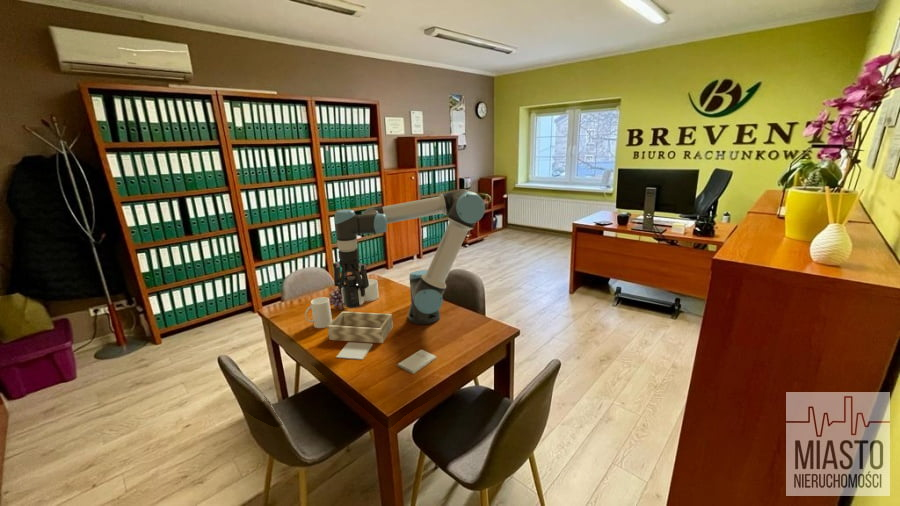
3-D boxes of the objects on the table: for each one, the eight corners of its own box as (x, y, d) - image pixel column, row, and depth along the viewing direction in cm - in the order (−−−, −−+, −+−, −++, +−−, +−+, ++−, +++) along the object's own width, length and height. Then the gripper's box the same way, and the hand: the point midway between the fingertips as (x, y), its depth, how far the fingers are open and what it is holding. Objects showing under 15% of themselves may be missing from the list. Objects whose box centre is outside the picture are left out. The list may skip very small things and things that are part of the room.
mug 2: (382, 298, 195) (380, 282, 192) (367, 302, 189) (365, 286, 187) (371, 291, 204) (369, 276, 201) (356, 296, 198) (354, 280, 196)
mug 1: (309, 332, 161) (305, 308, 157) (304, 325, 167) (300, 302, 164) (335, 324, 168) (332, 300, 164) (329, 317, 174) (325, 295, 171)
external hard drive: (397, 367, 135) (421, 352, 144) (413, 375, 129) (436, 359, 139) (397, 363, 134) (420, 348, 143) (413, 371, 129) (436, 355, 138)
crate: (393, 326, 163) (391, 314, 161) (382, 343, 150) (381, 329, 148) (343, 324, 167) (342, 311, 166) (329, 339, 154) (327, 326, 152)
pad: (373, 344, 149) (373, 343, 149) (362, 359, 139) (362, 358, 139) (348, 342, 151) (348, 342, 151) (336, 357, 141) (336, 356, 141)
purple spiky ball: (329, 305, 188) (326, 284, 184) (353, 302, 191) (350, 281, 187) (328, 314, 177) (325, 292, 174) (353, 311, 180) (351, 289, 177)
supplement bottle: (363, 301, 152) (361, 274, 148) (359, 308, 145) (357, 281, 142) (347, 301, 152) (345, 274, 148) (342, 308, 145) (340, 280, 142)
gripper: (375, 247, 143) (379, 300, 150) (330, 245, 147) (336, 297, 154) (367, 253, 136) (371, 308, 143) (320, 250, 140) (326, 304, 147)
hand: (353, 302), depth 148 cm, fingers closed on supplement bottle, 7 cm apart
